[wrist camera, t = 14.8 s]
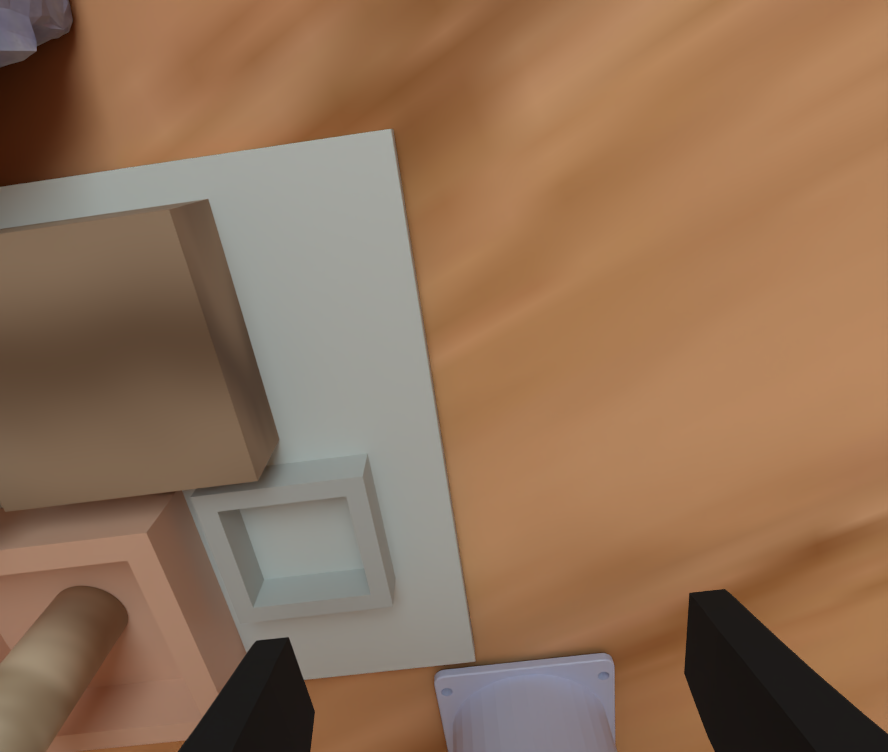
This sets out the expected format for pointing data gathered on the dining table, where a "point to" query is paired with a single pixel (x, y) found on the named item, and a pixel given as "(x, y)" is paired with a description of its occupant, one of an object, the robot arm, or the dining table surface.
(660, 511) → the dining table surface
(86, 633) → the dowel
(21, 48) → the mineral
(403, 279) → the jig board
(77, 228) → the square tan tile
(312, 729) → the robot arm
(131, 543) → the tray
